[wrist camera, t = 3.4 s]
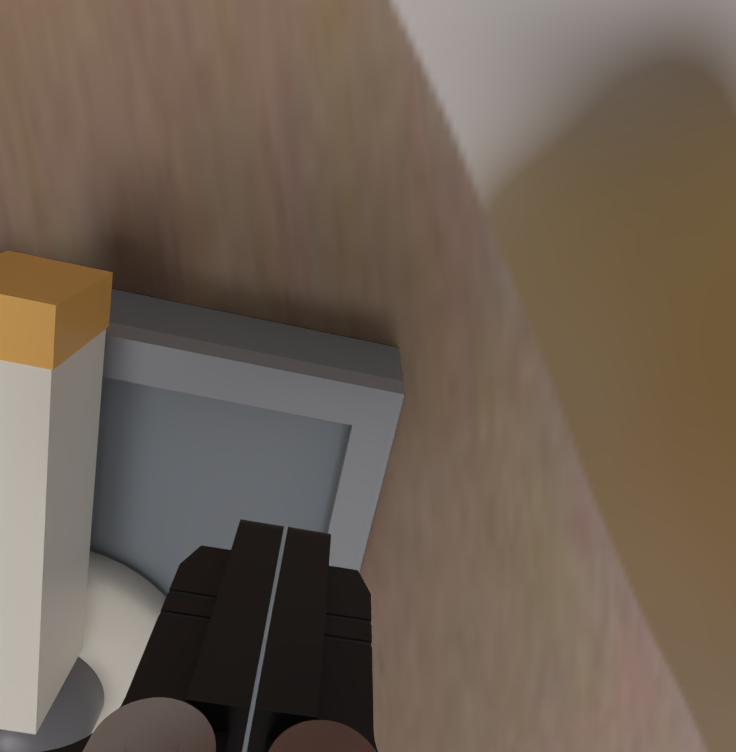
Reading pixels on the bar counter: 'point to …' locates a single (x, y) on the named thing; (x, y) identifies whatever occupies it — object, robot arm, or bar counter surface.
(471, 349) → the bar counter surface
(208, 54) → the bar counter surface
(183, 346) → the grey tray
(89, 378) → the white lever with disc
